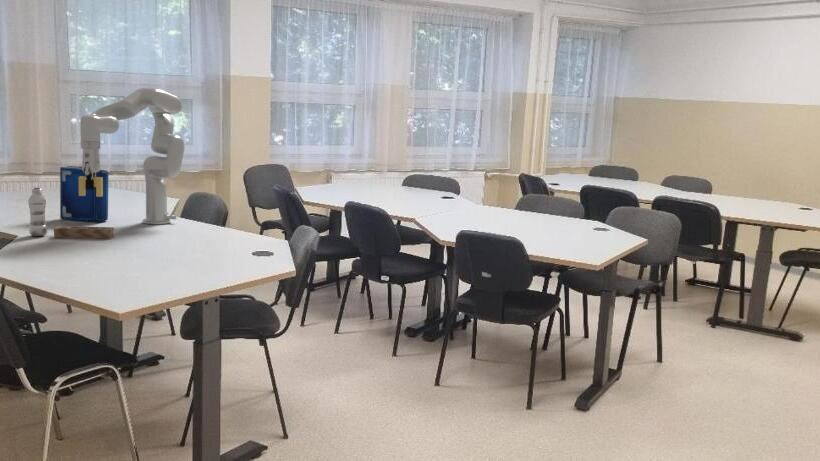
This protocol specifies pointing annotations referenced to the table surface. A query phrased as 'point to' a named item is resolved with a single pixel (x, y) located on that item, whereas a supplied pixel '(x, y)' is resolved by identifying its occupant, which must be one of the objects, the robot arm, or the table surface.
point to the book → (82, 197)
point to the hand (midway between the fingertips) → (90, 188)
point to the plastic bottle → (37, 213)
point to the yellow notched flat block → (97, 183)
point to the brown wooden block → (84, 232)
